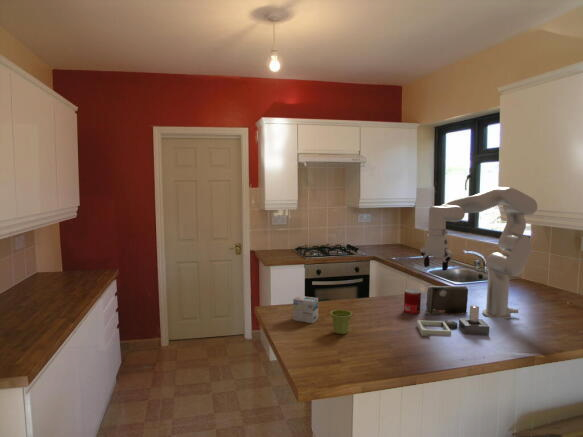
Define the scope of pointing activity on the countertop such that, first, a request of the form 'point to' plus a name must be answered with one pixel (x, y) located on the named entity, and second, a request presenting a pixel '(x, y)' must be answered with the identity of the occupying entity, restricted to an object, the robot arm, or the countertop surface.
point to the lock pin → (474, 315)
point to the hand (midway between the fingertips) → (435, 268)
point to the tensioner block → (473, 327)
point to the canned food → (412, 301)
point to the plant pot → (341, 320)
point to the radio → (447, 300)
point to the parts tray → (427, 332)
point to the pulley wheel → (450, 324)
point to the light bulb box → (305, 309)
